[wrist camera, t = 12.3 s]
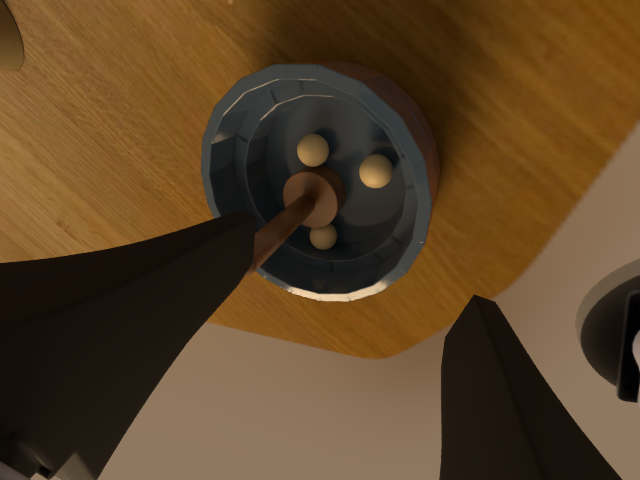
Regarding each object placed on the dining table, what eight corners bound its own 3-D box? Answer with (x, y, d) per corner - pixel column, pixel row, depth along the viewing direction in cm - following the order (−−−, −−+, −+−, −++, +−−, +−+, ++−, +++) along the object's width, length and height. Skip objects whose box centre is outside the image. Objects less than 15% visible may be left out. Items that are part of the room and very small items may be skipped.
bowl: (453, 250, 19) (449, 302, 15) (287, 261, 25) (253, 300, 21) (419, 20, 14) (399, 8, 10) (224, 100, 20) (163, 112, 16)
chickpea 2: (342, 229, 21) (338, 254, 20) (317, 229, 22) (313, 253, 21) (334, 217, 19) (330, 243, 19) (308, 217, 20) (303, 243, 20)
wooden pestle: (352, 213, 20) (286, 305, 13) (304, 220, 21) (222, 304, 14) (336, 158, 18) (252, 226, 11) (286, 170, 20) (185, 235, 13)
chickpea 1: (318, 145, 19) (339, 147, 18) (304, 170, 19) (325, 174, 18) (300, 126, 18) (322, 127, 16) (285, 153, 18) (306, 155, 16)
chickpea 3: (398, 178, 17) (392, 190, 16) (368, 184, 18) (360, 195, 17) (392, 147, 17) (385, 156, 15) (360, 154, 18) (351, 163, 16)
